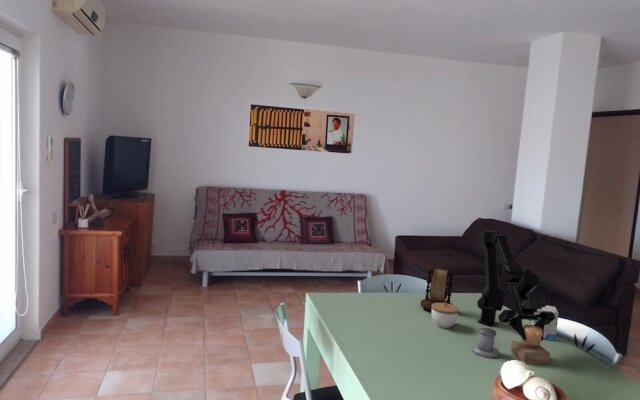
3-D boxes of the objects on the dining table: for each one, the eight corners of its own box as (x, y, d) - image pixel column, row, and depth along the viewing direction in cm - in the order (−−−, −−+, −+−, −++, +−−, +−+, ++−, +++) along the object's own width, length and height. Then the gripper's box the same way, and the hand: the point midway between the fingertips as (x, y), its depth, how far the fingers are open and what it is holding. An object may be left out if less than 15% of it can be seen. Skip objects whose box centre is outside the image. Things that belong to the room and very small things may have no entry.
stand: (510, 351, 165) (511, 341, 164) (534, 352, 165) (535, 342, 165) (523, 363, 156) (525, 352, 155) (548, 364, 157) (550, 353, 156)
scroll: (417, 311, 201) (421, 266, 199) (423, 301, 215) (427, 260, 213) (451, 317, 196) (456, 272, 194) (455, 308, 209) (459, 265, 207)
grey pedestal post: (478, 344, 169) (481, 324, 168) (502, 353, 163) (505, 332, 162) (467, 351, 163) (469, 329, 162) (491, 360, 156) (494, 338, 155)
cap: (518, 337, 163) (520, 324, 162) (534, 338, 163) (536, 324, 163) (530, 347, 155) (532, 333, 154) (547, 347, 155) (549, 333, 155)
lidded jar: (458, 332, 180) (460, 309, 179) (430, 328, 182) (432, 305, 181) (455, 322, 191) (458, 300, 190) (429, 318, 193) (431, 297, 192)
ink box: (552, 333, 186) (555, 306, 185) (555, 341, 178) (559, 312, 177) (529, 329, 189) (532, 302, 187) (531, 337, 181) (535, 308, 179)
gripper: (506, 287, 161) (518, 330, 151) (556, 290, 163) (571, 332, 153) (493, 301, 170) (504, 342, 160) (540, 303, 171) (554, 344, 162)
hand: (533, 340), depth 159 cm, fingers closed on cap, 6 cm apart
